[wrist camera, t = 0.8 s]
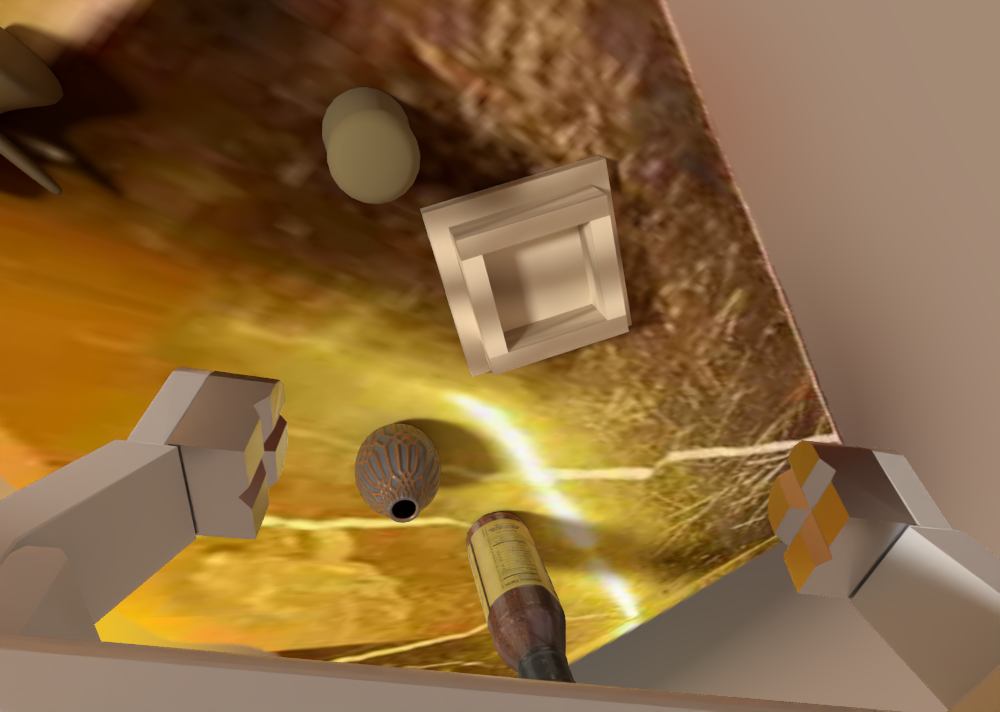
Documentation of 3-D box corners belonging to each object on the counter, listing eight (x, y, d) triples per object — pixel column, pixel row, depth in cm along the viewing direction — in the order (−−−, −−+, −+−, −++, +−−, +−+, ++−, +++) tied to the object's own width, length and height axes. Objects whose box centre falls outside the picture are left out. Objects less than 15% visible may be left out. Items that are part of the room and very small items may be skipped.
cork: (428, 141, 47) (453, 170, 38) (363, 196, 48) (371, 238, 38) (370, 67, 44) (380, 78, 35) (302, 126, 45) (293, 154, 35)
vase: (417, 399, 56) (431, 458, 48) (445, 460, 59) (462, 525, 52) (340, 429, 56) (341, 494, 48) (372, 490, 59) (378, 559, 51)
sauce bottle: (510, 563, 66) (573, 754, 49) (453, 551, 64) (498, 747, 47) (539, 512, 64) (615, 692, 47) (481, 498, 62) (538, 682, 45)
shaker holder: (420, 208, 49) (428, 226, 45) (598, 155, 50) (623, 167, 46) (468, 368, 56) (480, 397, 51) (624, 317, 57) (649, 342, 53)
